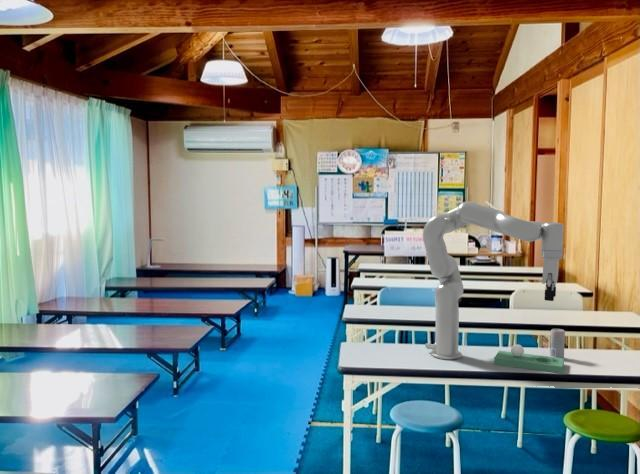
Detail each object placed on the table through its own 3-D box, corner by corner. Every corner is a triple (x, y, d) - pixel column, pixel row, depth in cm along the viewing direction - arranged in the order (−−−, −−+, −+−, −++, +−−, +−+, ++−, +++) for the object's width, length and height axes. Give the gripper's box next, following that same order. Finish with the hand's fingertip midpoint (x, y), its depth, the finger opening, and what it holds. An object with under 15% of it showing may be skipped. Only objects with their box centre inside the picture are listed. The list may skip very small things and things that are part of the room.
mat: (494, 364, 220) (494, 357, 220) (498, 356, 231) (499, 350, 231) (561, 373, 209) (562, 366, 209) (563, 364, 220) (563, 358, 220)
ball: (509, 357, 221) (510, 345, 220) (511, 354, 225) (511, 342, 225) (523, 359, 219) (523, 346, 218) (524, 355, 223) (524, 343, 223)
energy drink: (560, 356, 231) (561, 328, 230) (566, 360, 226) (567, 331, 225) (547, 356, 231) (548, 328, 230) (553, 360, 225) (554, 331, 225)
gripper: (543, 251, 220) (541, 294, 222) (539, 256, 205) (537, 301, 206) (563, 252, 217) (562, 295, 218) (561, 257, 202) (559, 303, 203)
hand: (550, 298), depth 212 cm, fingers open, 9 cm apart
